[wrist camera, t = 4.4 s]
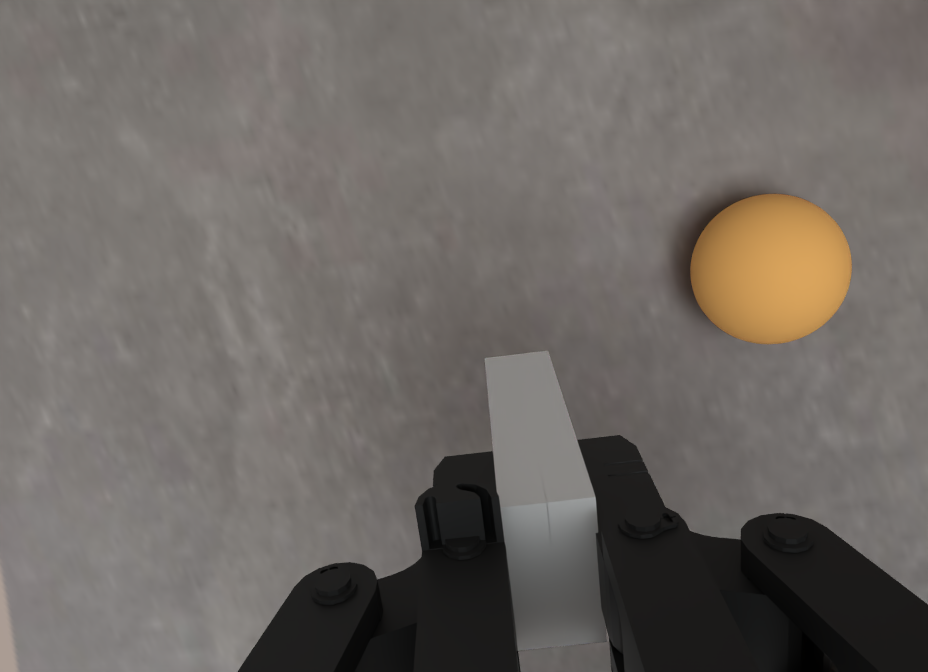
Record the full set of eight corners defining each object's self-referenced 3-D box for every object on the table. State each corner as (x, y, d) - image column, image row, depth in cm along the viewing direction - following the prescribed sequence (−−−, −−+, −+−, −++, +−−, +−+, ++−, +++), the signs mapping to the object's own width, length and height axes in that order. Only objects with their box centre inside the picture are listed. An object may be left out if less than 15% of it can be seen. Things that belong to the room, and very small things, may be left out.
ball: (675, 326, 32) (718, 374, 26) (670, 194, 30) (715, 216, 25) (809, 311, 31) (879, 355, 26) (811, 176, 30) (886, 195, 25)
